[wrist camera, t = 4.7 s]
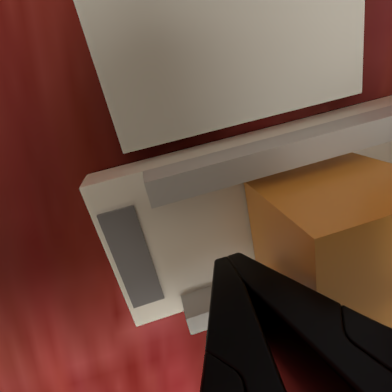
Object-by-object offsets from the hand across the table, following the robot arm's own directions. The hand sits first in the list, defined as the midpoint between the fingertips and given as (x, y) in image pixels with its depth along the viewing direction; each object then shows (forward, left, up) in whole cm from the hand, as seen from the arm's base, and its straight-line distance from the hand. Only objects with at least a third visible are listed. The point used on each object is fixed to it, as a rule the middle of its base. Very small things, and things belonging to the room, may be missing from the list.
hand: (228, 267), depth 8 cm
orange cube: (-3, 0, -2) cm, 4 cm away
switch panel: (-6, 0, -3) cm, 7 cm away
